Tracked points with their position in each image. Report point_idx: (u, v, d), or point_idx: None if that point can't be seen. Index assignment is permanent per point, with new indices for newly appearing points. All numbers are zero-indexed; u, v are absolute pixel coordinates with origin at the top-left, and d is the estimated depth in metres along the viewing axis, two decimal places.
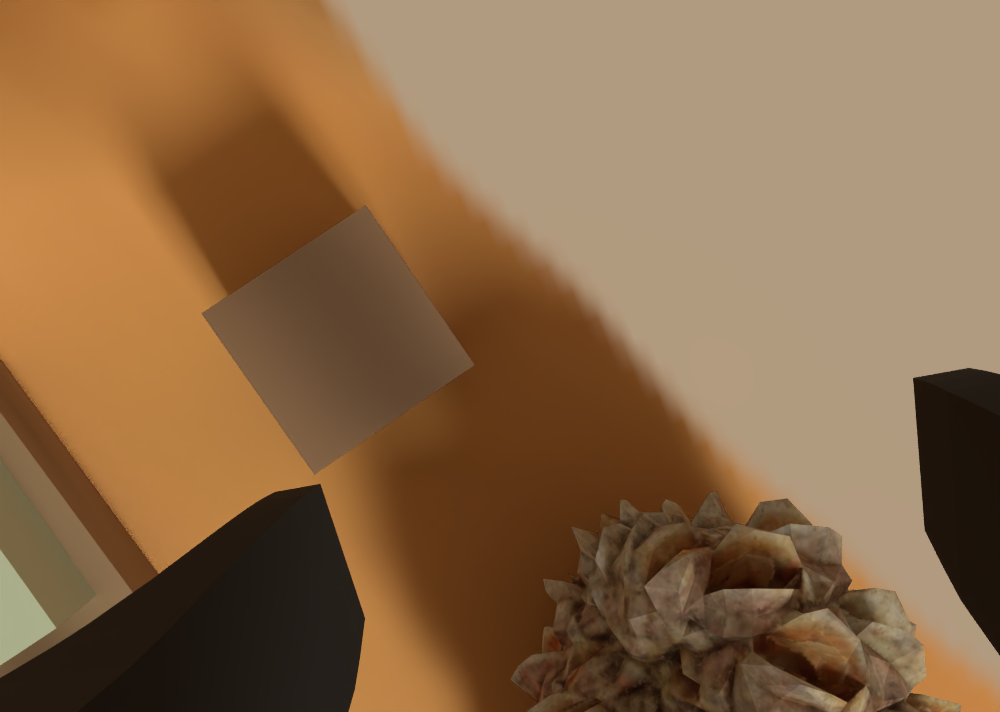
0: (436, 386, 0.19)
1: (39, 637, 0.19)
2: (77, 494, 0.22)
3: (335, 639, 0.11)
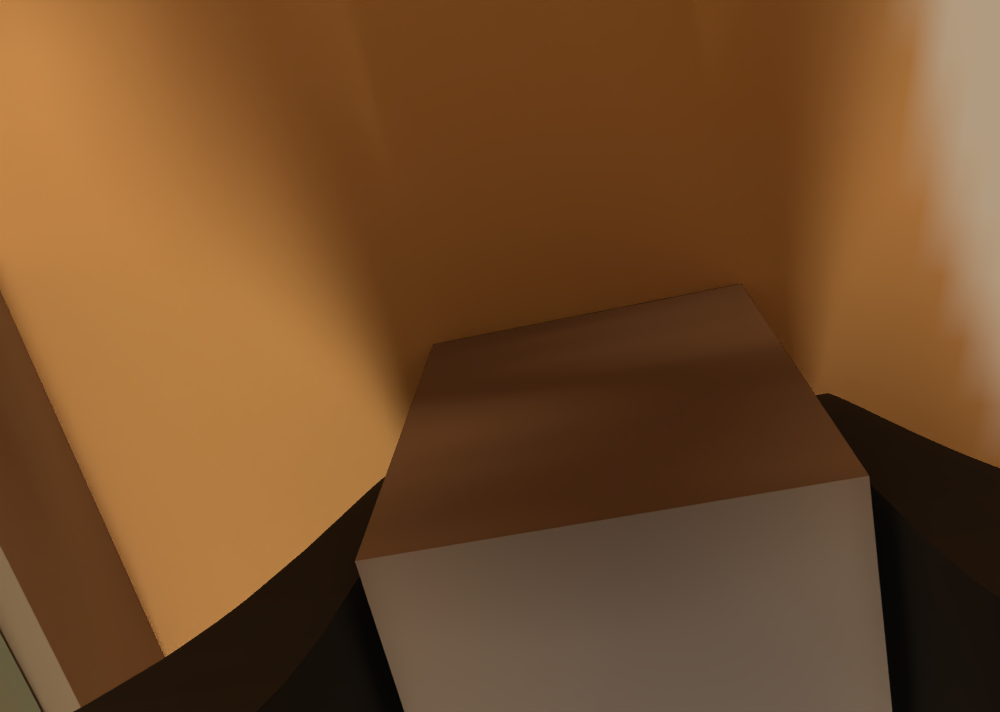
0: None
1: None
2: (58, 559, 0.12)
3: None
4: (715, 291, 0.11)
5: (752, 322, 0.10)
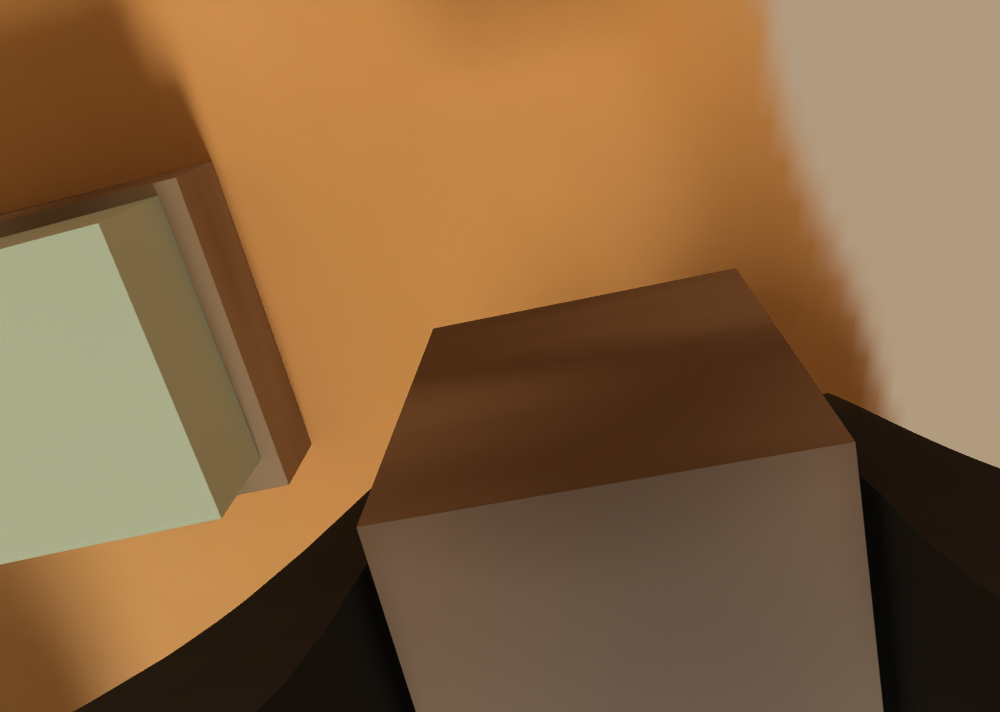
0: None
1: (203, 520, 0.18)
2: (253, 343, 0.20)
3: None
4: (710, 275, 0.12)
5: (746, 303, 0.10)
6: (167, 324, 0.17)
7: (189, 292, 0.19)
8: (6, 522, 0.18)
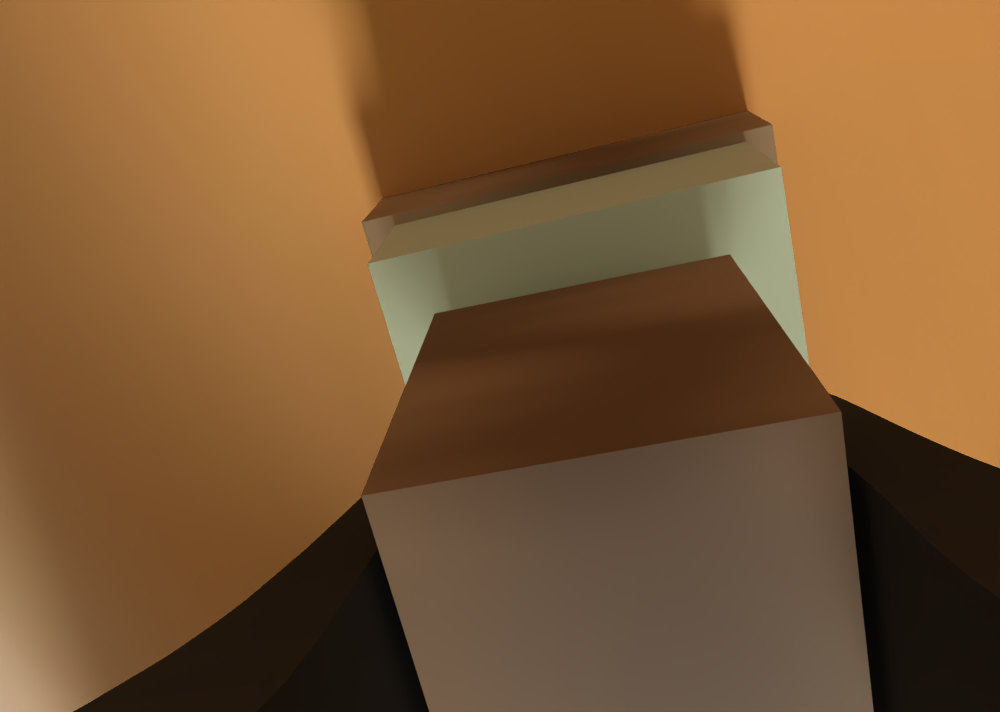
0: None
1: None
2: None
3: None
4: (705, 261, 0.12)
5: (739, 286, 0.11)
6: None
7: None
8: None
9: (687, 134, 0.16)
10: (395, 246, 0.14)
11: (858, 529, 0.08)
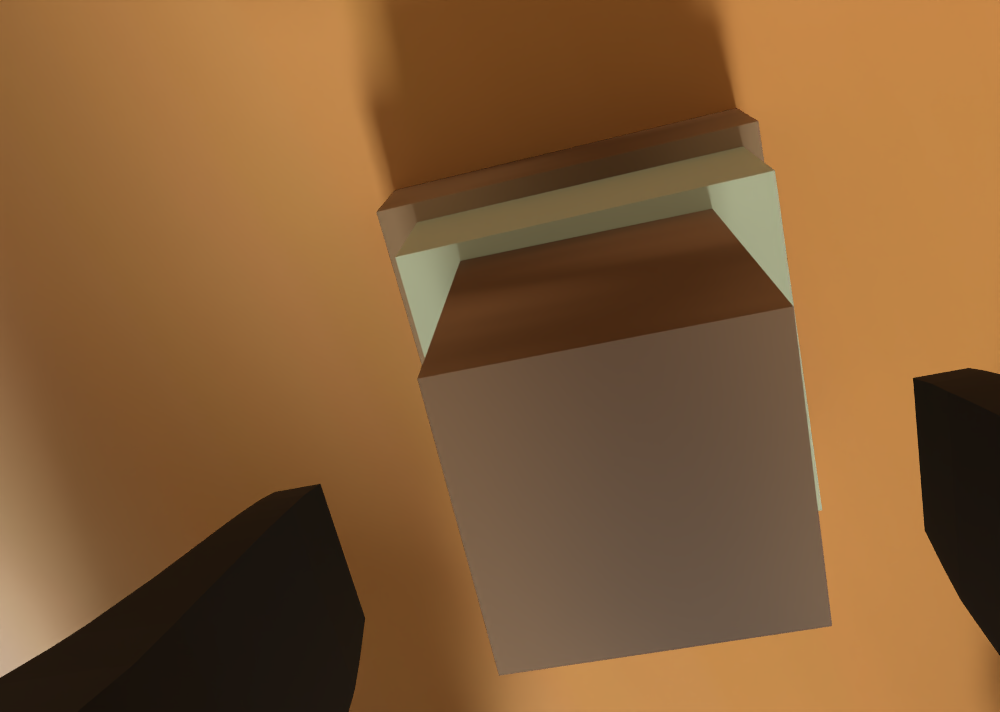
0: (753, 633, 0.11)
1: None
2: None
3: (335, 639, 0.11)
4: (691, 214, 0.14)
5: (719, 230, 0.13)
6: None
7: None
8: None
9: (680, 130, 0.17)
10: (419, 241, 0.15)
11: None
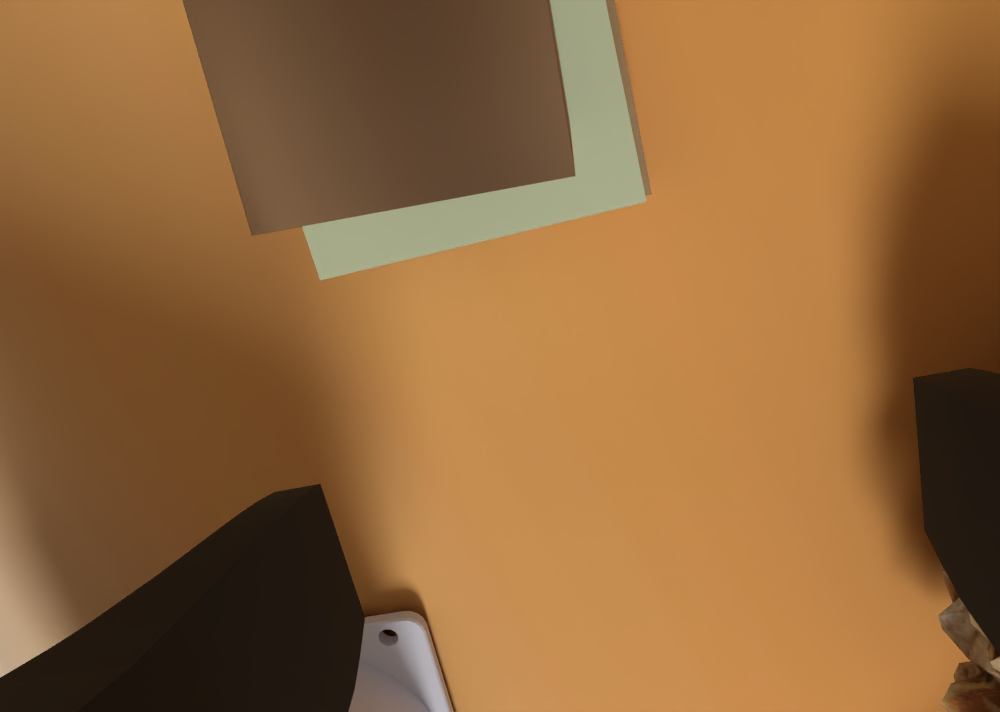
0: (497, 184, 0.11)
1: (624, 205, 0.16)
2: None
3: (335, 639, 0.11)
4: None
5: None
6: None
7: None
8: (396, 212, 0.16)
9: None
10: None
11: None
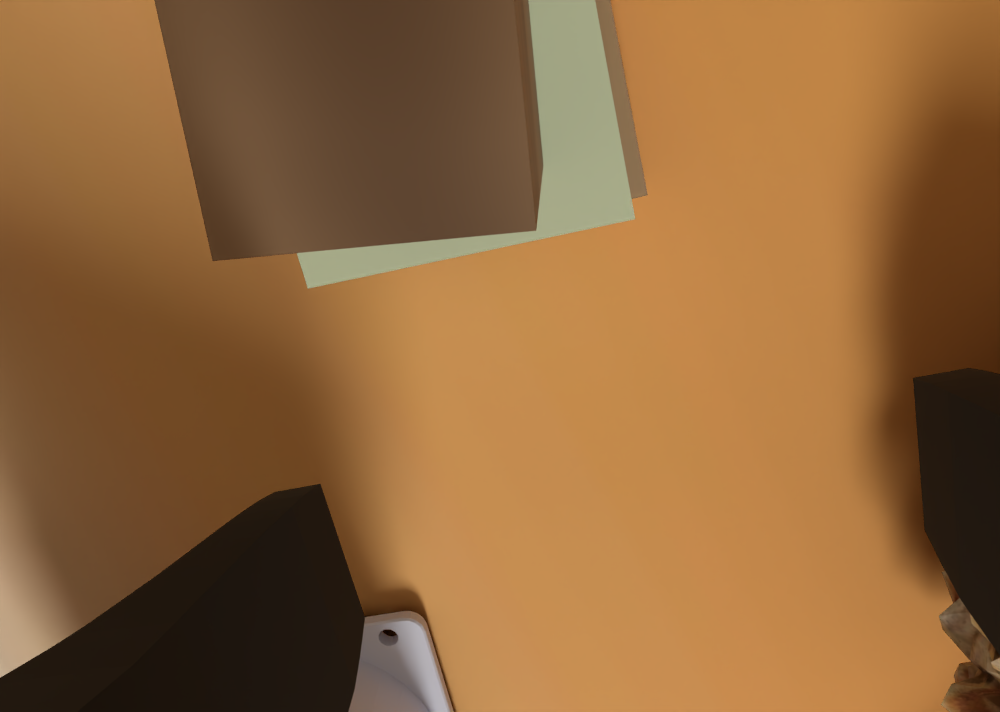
0: (459, 232, 0.11)
1: (612, 221, 0.16)
2: None
3: (335, 639, 0.11)
4: None
5: None
6: None
7: None
8: None
9: None
10: None
11: None
